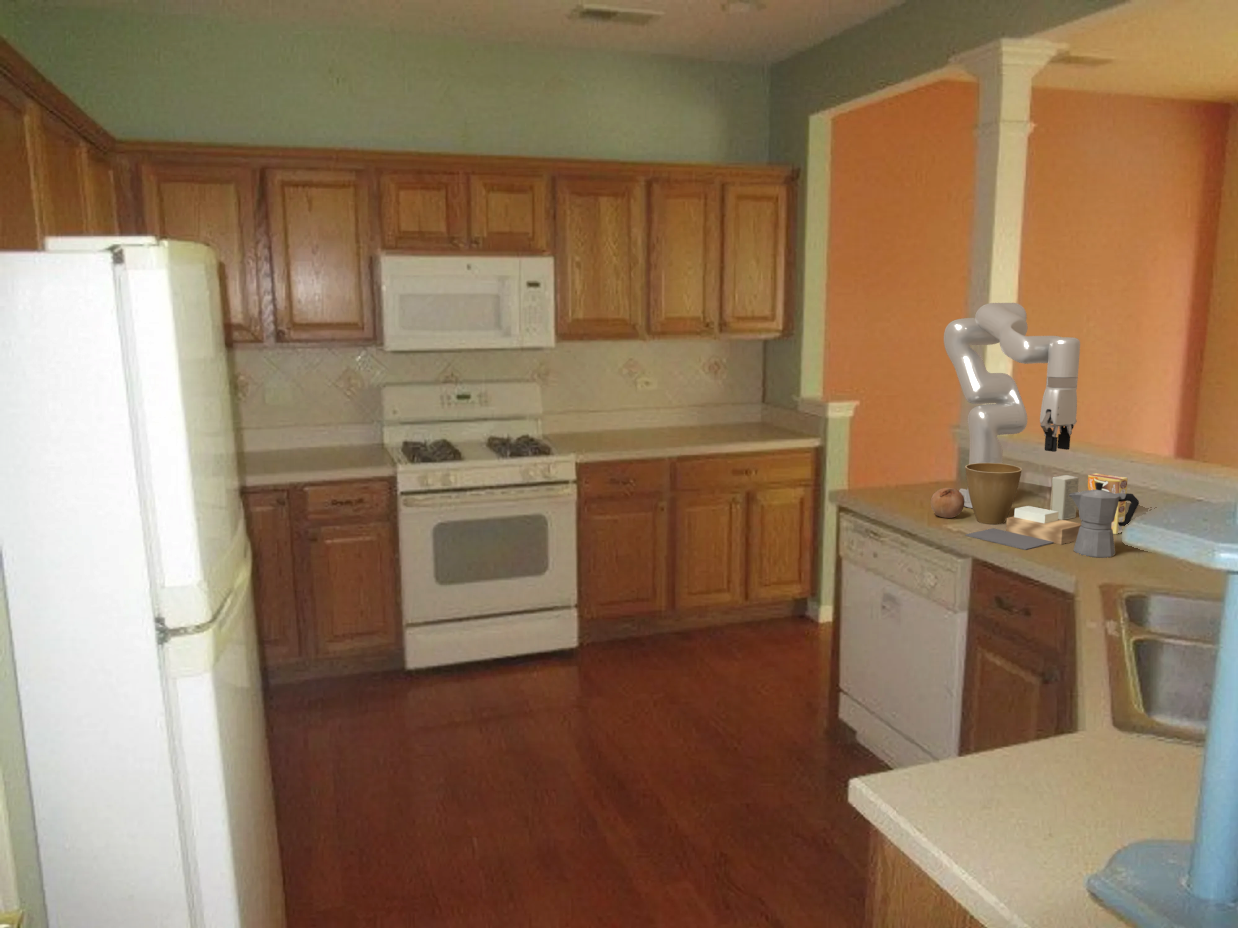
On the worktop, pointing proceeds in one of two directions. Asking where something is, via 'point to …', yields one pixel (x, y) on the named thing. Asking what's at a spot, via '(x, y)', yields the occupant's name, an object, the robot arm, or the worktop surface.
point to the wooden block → (1045, 529)
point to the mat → (1009, 539)
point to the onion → (947, 502)
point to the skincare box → (1064, 496)
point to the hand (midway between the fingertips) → (1056, 449)
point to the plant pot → (992, 490)
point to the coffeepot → (1099, 520)
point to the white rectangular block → (1036, 514)
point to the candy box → (1113, 486)
